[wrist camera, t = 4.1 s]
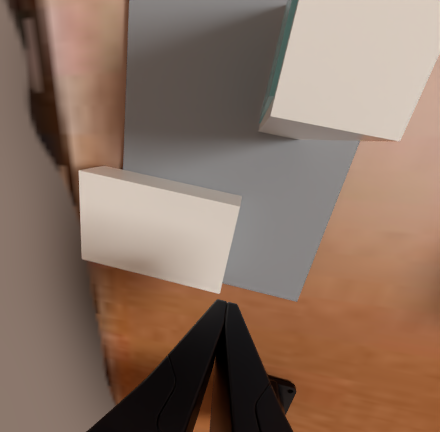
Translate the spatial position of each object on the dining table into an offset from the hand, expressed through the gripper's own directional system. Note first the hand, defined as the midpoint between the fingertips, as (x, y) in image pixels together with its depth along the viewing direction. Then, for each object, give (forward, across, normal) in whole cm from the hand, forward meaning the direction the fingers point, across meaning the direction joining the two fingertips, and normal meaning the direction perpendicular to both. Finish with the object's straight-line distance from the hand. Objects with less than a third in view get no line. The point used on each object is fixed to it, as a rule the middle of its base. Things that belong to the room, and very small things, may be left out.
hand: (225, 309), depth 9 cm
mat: (+8, +2, -5) cm, 9 cm away
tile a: (+6, 0, 0) cm, 6 cm away
